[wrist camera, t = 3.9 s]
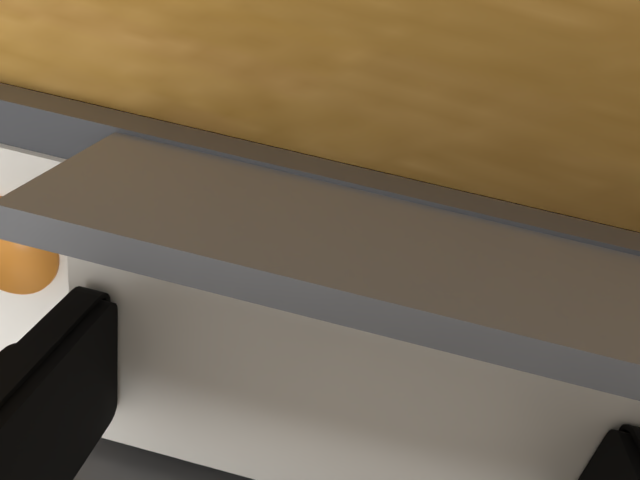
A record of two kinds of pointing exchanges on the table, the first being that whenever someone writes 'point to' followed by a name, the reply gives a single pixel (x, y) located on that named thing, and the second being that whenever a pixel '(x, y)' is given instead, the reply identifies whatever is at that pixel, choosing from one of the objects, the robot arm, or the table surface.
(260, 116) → the table surface
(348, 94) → the table surface
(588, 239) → the switch console
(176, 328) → the button
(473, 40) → the table surface
